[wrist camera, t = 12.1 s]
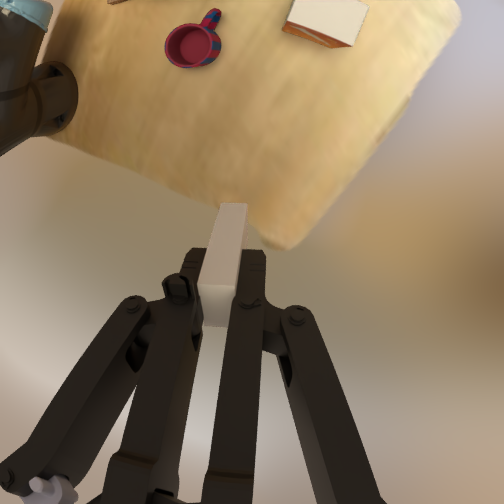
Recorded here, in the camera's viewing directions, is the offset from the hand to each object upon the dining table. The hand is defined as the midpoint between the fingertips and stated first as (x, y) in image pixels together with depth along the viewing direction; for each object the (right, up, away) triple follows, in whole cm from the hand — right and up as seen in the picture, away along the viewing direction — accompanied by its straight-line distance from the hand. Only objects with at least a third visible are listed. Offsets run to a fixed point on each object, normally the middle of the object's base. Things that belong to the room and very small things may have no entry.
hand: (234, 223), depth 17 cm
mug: (-6, +31, +18) cm, 36 cm away
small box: (+10, +32, +15) cm, 37 cm away
